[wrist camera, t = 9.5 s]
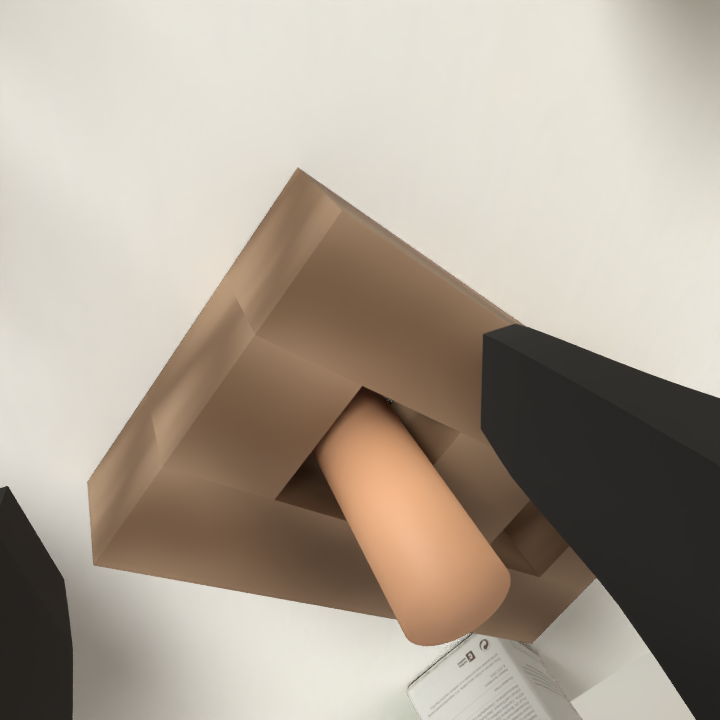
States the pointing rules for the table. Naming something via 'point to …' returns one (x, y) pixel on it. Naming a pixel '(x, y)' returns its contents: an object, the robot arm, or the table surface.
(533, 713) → the skincare box
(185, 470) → the hole block
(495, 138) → the table surface
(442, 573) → the peg
